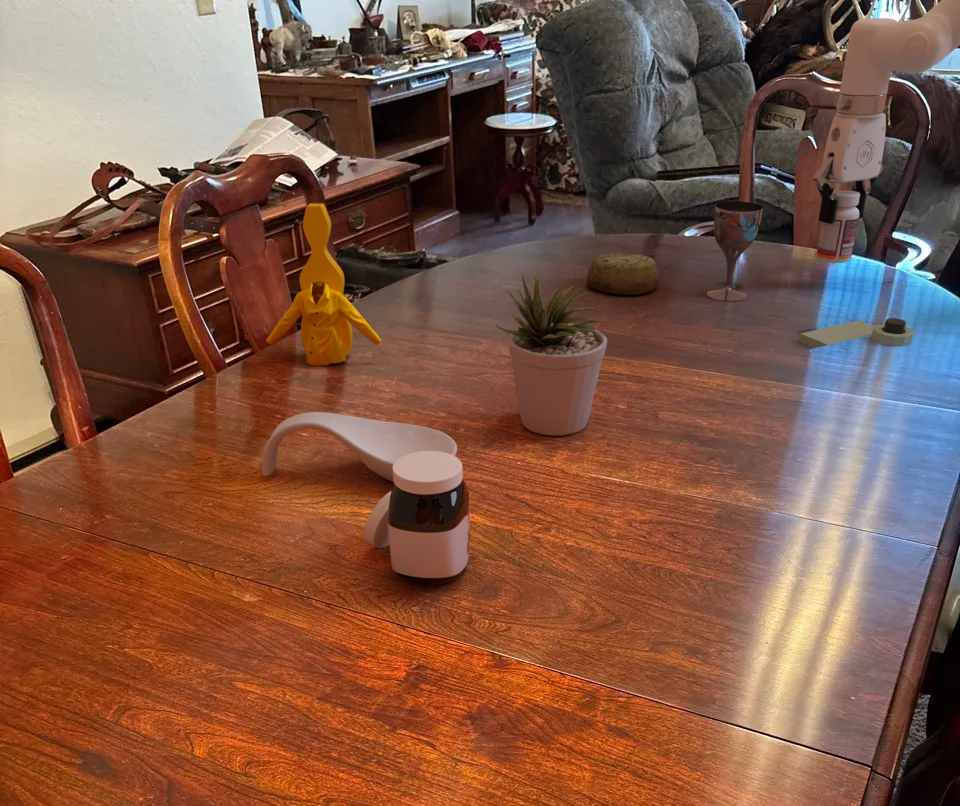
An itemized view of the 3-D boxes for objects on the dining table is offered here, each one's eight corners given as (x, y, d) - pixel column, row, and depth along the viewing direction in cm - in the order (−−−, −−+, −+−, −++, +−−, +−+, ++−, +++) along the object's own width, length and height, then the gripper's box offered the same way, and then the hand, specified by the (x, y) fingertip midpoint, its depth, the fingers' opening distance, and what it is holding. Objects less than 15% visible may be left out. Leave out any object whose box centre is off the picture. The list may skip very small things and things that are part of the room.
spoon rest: (459, 452, 122) (458, 398, 117) (455, 495, 112) (454, 439, 108) (275, 451, 122) (267, 398, 118) (255, 494, 113) (246, 438, 108)
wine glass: (704, 287, 177) (715, 200, 168) (748, 289, 176) (762, 202, 167) (703, 300, 171) (715, 210, 162) (749, 302, 170) (763, 212, 161)
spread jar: (458, 597, 95) (456, 492, 88) (349, 587, 96) (338, 483, 90) (480, 537, 104) (478, 438, 97) (379, 528, 106) (371, 431, 99)
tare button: (892, 328, 150) (895, 316, 149) (907, 333, 148) (910, 322, 147) (878, 331, 149) (881, 320, 148) (893, 336, 147) (896, 325, 146)
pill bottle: (848, 255, 177) (861, 189, 170) (852, 264, 172) (865, 196, 166) (814, 254, 178) (825, 189, 171) (817, 263, 173) (828, 196, 167)
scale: (856, 328, 158) (861, 310, 156) (917, 351, 149) (922, 332, 148) (798, 342, 153) (801, 323, 151) (857, 366, 144) (861, 346, 143)
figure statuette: (266, 367, 146) (244, 213, 133) (277, 349, 152) (257, 201, 139) (381, 368, 145) (370, 213, 132) (387, 350, 152) (377, 201, 139)
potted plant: (522, 398, 136) (525, 251, 124) (614, 414, 131) (626, 263, 119) (483, 431, 126) (482, 276, 115) (581, 450, 122) (590, 290, 110)
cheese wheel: (619, 271, 186) (621, 244, 183) (674, 286, 178) (677, 258, 175) (571, 285, 179) (573, 258, 176) (626, 301, 171) (629, 273, 168)
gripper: (840, 113, 155) (819, 230, 165) (914, 103, 161) (891, 217, 172) (806, 108, 160) (789, 222, 171) (880, 99, 167) (859, 209, 177)
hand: (840, 218), depth 171 cm, fingers closed on pill bottle, 6 cm apart
